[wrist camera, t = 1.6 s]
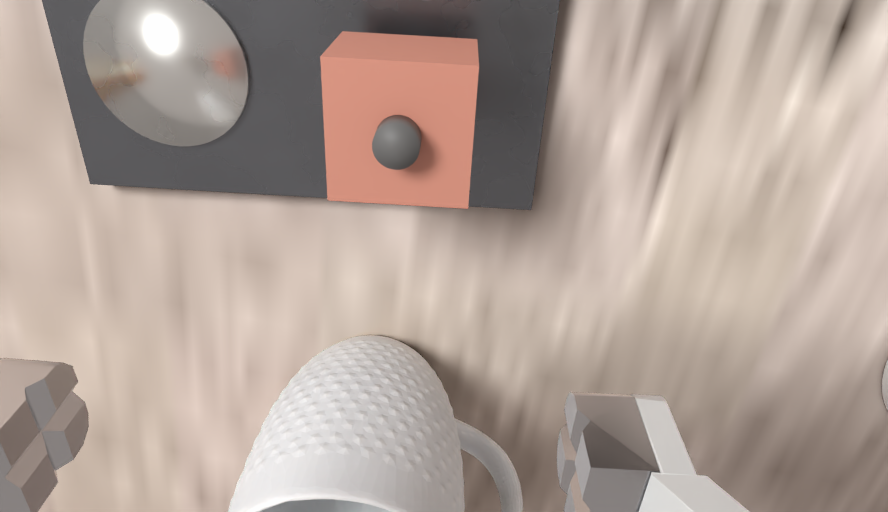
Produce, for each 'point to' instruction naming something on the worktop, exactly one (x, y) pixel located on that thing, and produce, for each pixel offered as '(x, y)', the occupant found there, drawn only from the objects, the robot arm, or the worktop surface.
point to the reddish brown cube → (399, 118)
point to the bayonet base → (279, 88)
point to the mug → (367, 439)
